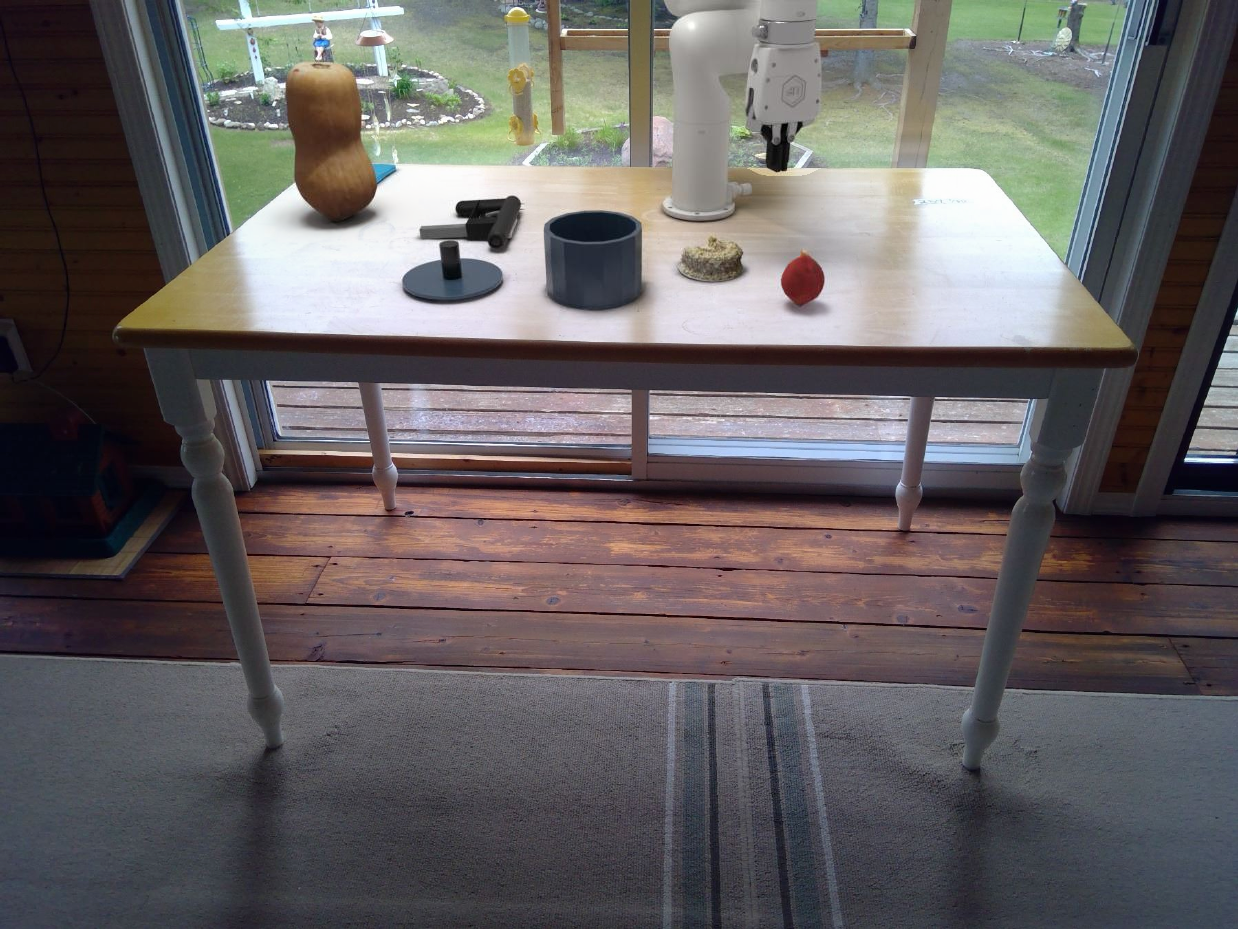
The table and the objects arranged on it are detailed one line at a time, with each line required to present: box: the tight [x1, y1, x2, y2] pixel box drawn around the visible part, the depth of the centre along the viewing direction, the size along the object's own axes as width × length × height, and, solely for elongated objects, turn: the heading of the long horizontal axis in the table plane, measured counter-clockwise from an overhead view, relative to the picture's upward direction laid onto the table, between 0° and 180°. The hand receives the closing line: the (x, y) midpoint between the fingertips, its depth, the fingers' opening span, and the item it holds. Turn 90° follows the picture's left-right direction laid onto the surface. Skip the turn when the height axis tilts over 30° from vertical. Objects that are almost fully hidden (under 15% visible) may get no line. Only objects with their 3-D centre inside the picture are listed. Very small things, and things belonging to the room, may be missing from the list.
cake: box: [677, 235, 744, 283], centre depth 140 cm, size 10×10×5 cm
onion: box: [780, 249, 826, 307], centre depth 128 cm, size 6×6×8 cm
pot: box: [543, 209, 643, 311], centre depth 133 cm, size 14×14×10 cm
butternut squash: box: [284, 61, 378, 223], centre depth 156 cm, size 14×13×25 cm
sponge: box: [372, 163, 397, 184], centre depth 182 cm, size 2×12×6 cm
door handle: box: [419, 195, 524, 250], centre depth 156 cm, size 3×20×16 cm
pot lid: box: [401, 239, 504, 301], centre depth 137 cm, size 15×15×6 cm
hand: (776, 169), depth 137 cm, fingers closed
